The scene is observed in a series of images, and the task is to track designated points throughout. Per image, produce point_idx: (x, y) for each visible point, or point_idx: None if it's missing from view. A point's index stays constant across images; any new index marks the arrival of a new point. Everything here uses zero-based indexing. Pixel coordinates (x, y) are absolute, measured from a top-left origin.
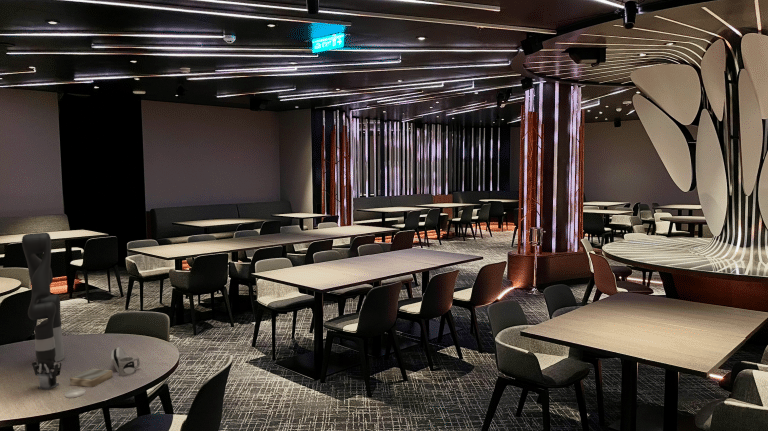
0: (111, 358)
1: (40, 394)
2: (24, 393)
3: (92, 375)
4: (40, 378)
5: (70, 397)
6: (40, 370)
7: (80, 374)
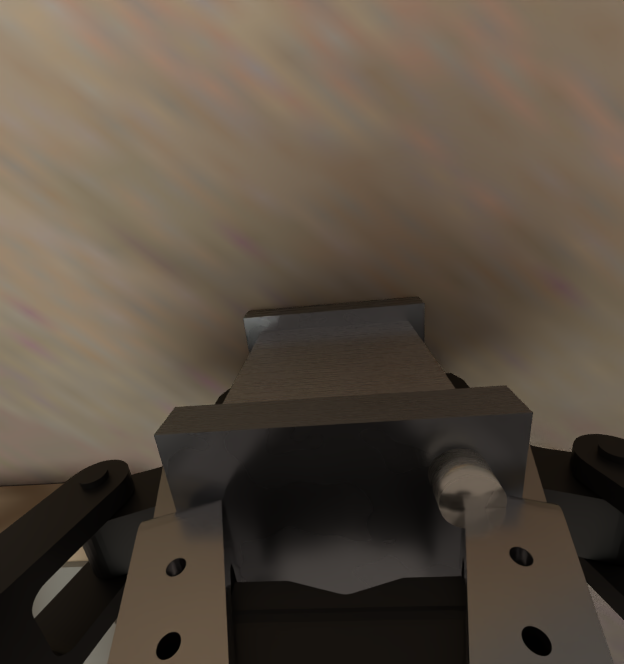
0: None
1: (206, 160)
2: (482, 103)
3: None
4: (408, 378)
5: None
6: (490, 547)
7: (101, 639)
